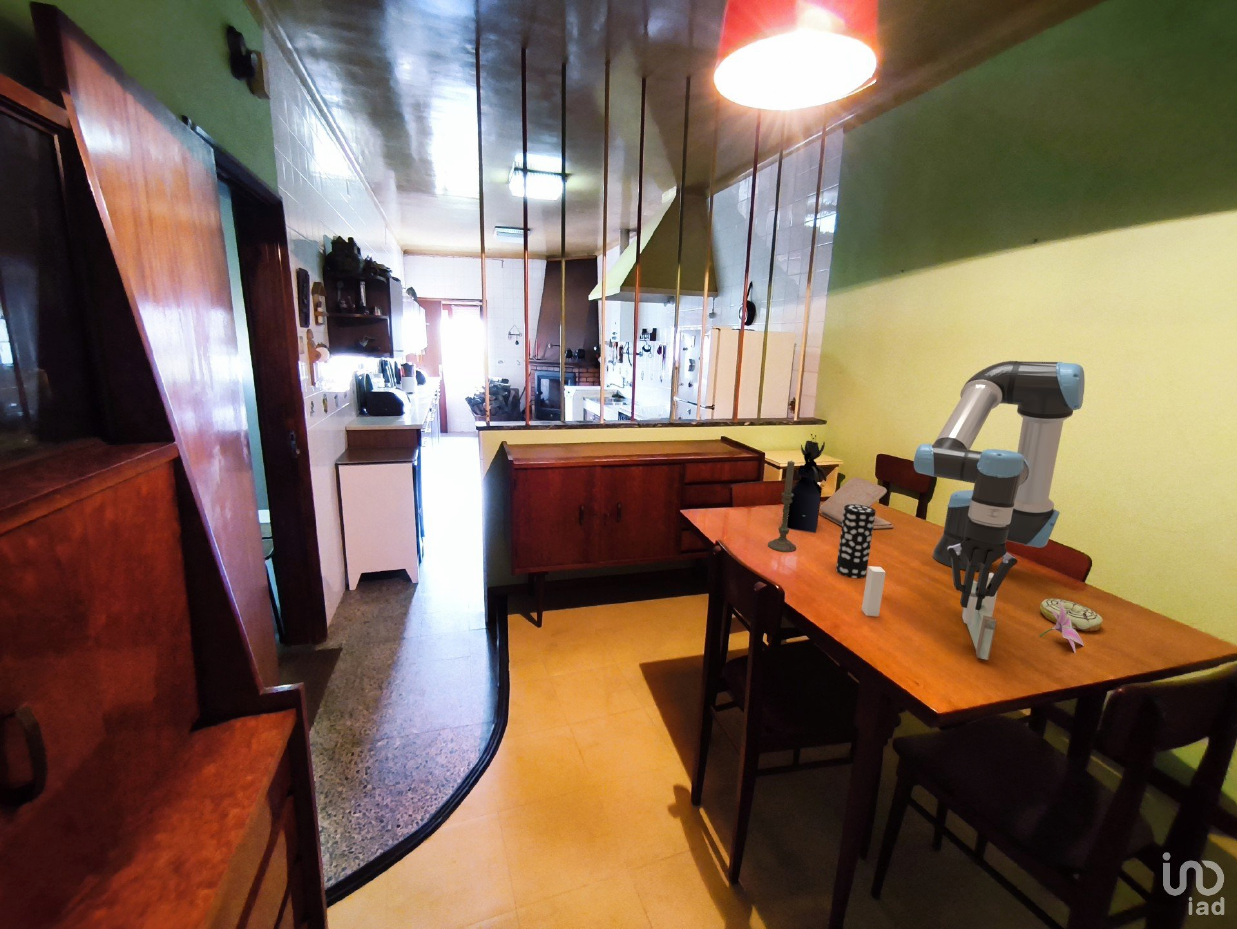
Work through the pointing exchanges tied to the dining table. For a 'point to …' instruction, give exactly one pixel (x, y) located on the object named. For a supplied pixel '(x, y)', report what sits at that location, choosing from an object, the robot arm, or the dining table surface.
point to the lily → (1065, 627)
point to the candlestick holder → (785, 515)
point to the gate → (982, 629)
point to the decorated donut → (1072, 614)
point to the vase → (807, 491)
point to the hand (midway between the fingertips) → (966, 620)
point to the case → (854, 500)
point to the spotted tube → (855, 540)
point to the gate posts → (876, 589)
